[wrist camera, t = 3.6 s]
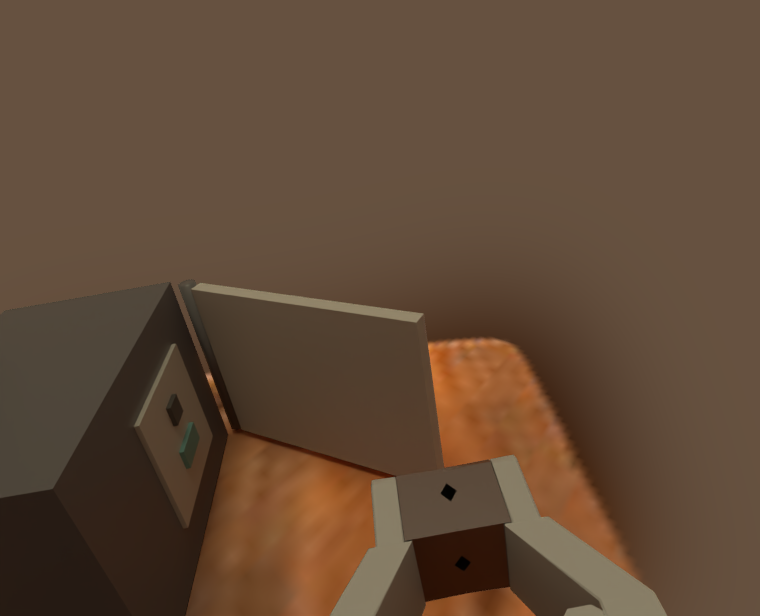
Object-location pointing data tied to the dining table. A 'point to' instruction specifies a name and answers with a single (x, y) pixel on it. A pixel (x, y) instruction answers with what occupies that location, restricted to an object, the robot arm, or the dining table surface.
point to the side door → (321, 374)
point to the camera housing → (103, 456)
